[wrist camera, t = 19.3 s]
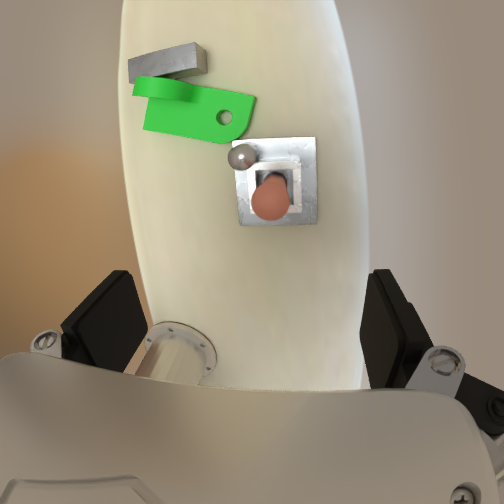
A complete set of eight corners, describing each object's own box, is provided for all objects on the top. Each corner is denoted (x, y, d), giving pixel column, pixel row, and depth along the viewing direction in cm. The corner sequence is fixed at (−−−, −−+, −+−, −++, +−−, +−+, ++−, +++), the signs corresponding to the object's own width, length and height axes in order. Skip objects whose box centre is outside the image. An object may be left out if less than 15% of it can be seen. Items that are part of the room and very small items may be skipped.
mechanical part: (150, 128, 32) (115, 133, 25) (159, 82, 29) (126, 75, 22) (243, 147, 32) (229, 154, 25) (256, 98, 29) (245, 89, 22)
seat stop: (207, 73, 28) (196, 67, 25) (145, 86, 29) (129, 83, 26) (205, 50, 27) (195, 42, 23) (144, 64, 28) (128, 59, 24)
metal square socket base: (316, 221, 34) (319, 237, 29) (241, 222, 35) (233, 238, 31) (314, 136, 30) (318, 138, 25) (234, 140, 31) (224, 143, 27)
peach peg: (290, 196, 32) (290, 220, 24) (262, 197, 32) (252, 221, 25) (289, 168, 31) (288, 183, 23) (260, 169, 31) (249, 184, 23)
